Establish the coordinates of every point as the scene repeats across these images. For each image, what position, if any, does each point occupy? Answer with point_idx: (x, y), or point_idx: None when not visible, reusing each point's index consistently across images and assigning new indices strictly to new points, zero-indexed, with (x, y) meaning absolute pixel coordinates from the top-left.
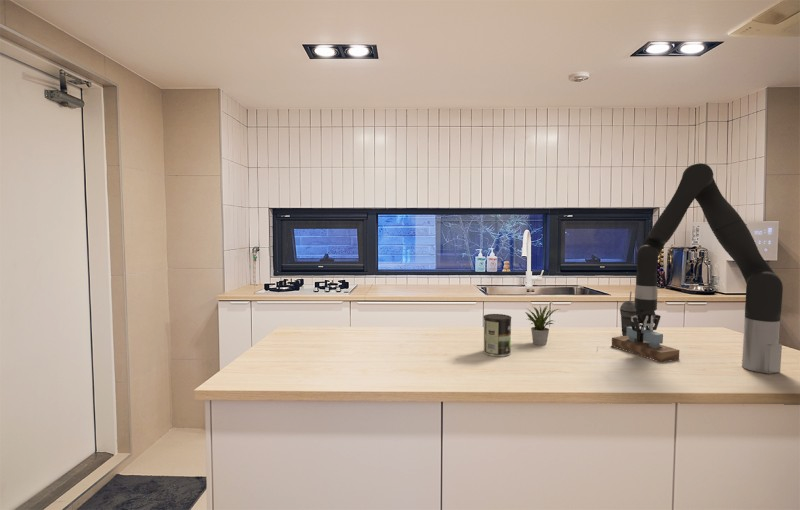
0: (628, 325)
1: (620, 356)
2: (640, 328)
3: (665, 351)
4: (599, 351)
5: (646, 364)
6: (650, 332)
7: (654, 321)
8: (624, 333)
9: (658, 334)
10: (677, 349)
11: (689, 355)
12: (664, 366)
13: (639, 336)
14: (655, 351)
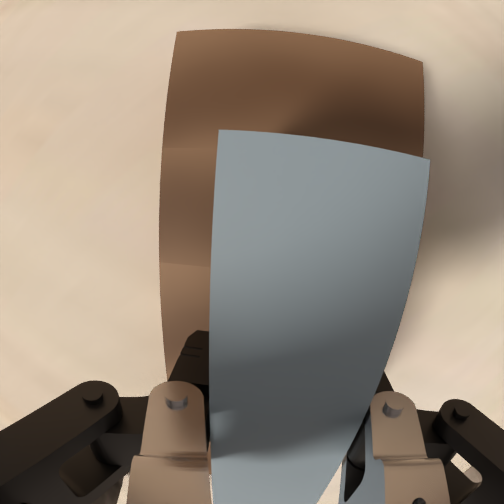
0: (98, 500)
1: (476, 293)
2: (224, 488)
3: (360, 52)
4: (460, 388)
5: (489, 120)
6: (334, 339)
7: (43, 493)
8: (120, 479)
9: (357, 151)
10: (175, 47)
11: (54, 120)
12: (432, 39)
13: (385, 377)
14: (421, 116)
